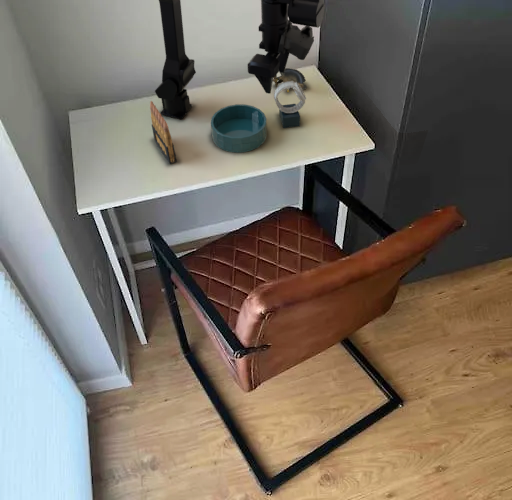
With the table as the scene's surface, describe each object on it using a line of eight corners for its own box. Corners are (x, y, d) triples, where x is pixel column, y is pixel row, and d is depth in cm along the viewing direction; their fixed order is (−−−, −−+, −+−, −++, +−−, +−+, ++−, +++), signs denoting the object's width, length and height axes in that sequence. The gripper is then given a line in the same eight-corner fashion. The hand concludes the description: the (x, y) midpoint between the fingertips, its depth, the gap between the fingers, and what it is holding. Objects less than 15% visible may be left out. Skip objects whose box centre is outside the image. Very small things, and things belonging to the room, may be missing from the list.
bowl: (203, 145, 145) (201, 131, 141) (225, 114, 153) (224, 99, 149) (254, 157, 141) (253, 143, 138) (274, 125, 149) (274, 110, 146)
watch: (307, 125, 149) (308, 88, 141) (276, 129, 148) (276, 92, 140) (302, 112, 152) (303, 75, 144) (272, 116, 152) (272, 79, 143)
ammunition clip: (154, 140, 147) (146, 100, 138) (161, 138, 147) (153, 97, 138) (169, 164, 140) (162, 124, 131) (176, 162, 141) (169, 121, 132)
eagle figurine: (273, 94, 156) (306, 89, 154) (269, 67, 154) (303, 61, 153) (277, 94, 163) (308, 88, 162) (273, 67, 162) (305, 62, 160)
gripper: (296, 46, 117) (294, 111, 128) (323, 4, 128) (319, 67, 140) (245, 37, 120) (248, 101, 131) (276, -3, 131) (276, 60, 143)
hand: (275, 82), depth 136 cm, fingers open, 9 cm apart
